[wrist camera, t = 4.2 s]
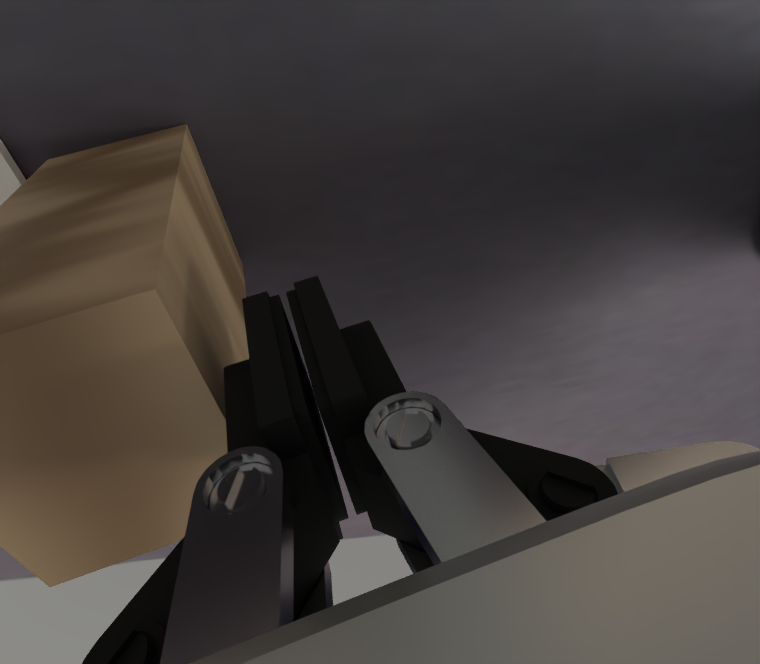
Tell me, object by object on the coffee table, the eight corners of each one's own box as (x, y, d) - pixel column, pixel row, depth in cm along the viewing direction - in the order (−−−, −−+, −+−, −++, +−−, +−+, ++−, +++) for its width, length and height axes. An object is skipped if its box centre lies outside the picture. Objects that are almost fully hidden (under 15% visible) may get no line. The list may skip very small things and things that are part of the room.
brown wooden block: (186, 123, 18) (155, 288, 8) (242, 264, 22) (272, 507, 11) (47, 159, 18) (-189, 390, 7) (128, 298, 21) (49, 587, 11)
